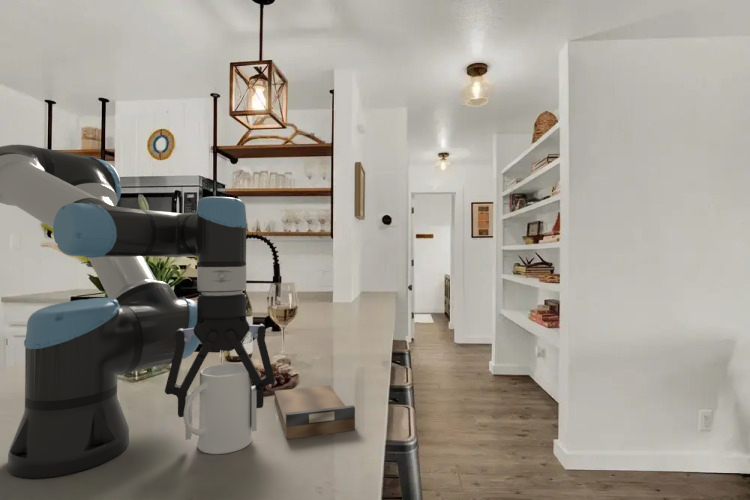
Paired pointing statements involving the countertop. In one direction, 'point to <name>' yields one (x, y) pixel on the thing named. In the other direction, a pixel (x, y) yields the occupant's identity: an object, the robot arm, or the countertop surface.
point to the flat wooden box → (313, 412)
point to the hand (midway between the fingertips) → (222, 431)
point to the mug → (222, 409)
